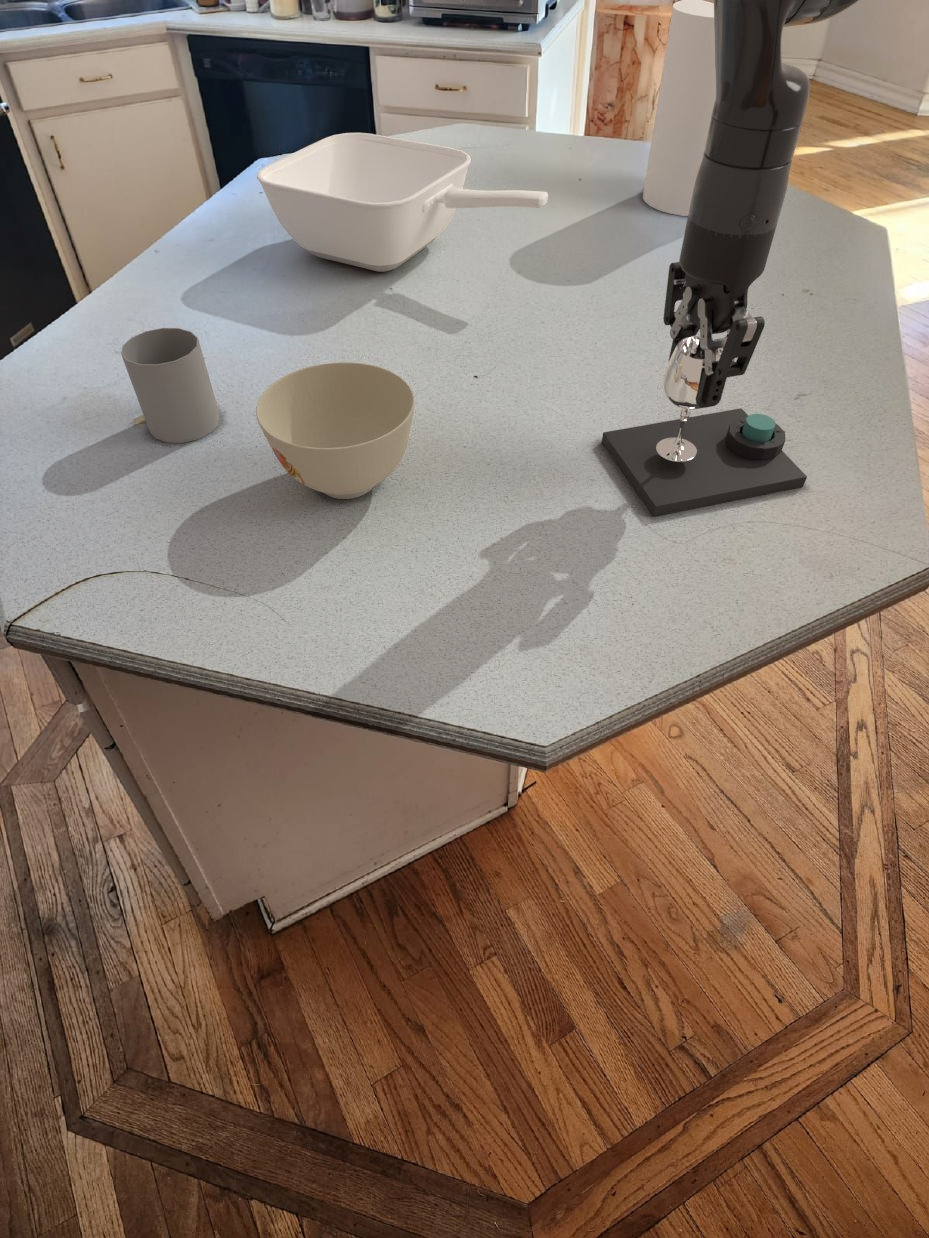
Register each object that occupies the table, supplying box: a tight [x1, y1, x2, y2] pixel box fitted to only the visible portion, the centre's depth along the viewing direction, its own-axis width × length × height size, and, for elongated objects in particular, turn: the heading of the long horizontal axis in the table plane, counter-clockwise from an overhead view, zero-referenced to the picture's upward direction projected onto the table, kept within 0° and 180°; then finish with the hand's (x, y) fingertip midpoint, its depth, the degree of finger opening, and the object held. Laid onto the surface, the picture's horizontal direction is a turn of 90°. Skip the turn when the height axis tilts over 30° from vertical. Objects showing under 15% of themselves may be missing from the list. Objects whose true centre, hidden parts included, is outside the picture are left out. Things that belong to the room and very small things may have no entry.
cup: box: [120, 327, 221, 444], centre depth 88 cm, size 8×8×10 cm
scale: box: [601, 407, 808, 517], centre depth 85 cm, size 19×14×3 cm
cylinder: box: [642, 0, 716, 217], centre depth 130 cm, size 17×17×28 cm
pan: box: [256, 132, 549, 273], centre depth 118 cm, size 27×44×13 cm, turn 61°
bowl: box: [255, 361, 416, 500], centre depth 80 cm, size 16×16×10 cm
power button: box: [742, 413, 776, 442], centre depth 85 cm, size 3×3×2 cm
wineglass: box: [656, 336, 723, 462], centre depth 79 cm, size 6×6×12 cm
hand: (691, 388), depth 78 cm, fingers closed on wineglass, 6 cm apart
